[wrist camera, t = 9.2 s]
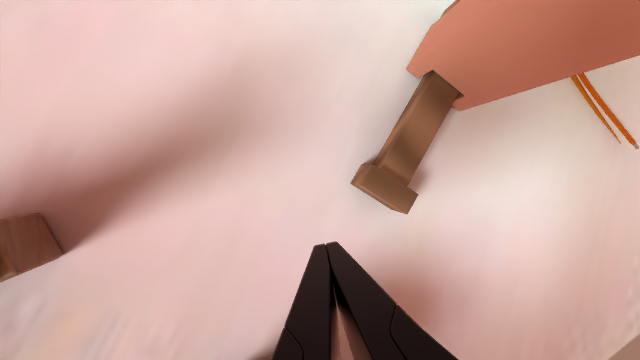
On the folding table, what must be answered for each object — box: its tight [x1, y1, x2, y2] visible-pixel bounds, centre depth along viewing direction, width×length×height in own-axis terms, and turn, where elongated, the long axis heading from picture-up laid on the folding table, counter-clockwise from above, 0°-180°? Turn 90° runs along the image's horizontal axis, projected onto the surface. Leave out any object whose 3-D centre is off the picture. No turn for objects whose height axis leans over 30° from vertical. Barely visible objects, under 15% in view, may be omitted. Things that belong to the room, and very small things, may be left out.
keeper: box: [406, 0, 640, 111], centre depth 17 cm, size 5×7×14 cm
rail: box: [350, 0, 460, 214], centre depth 22 cm, size 20×6×5 cm, turn 148°
